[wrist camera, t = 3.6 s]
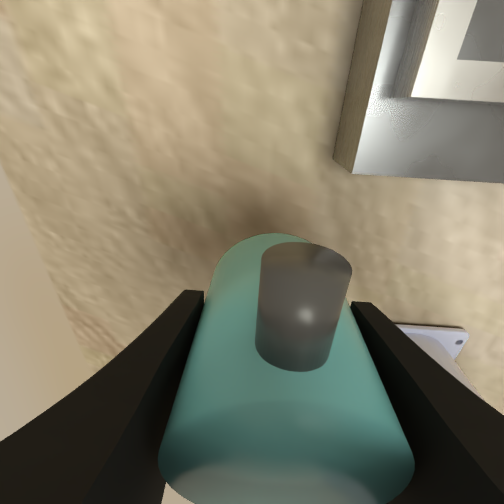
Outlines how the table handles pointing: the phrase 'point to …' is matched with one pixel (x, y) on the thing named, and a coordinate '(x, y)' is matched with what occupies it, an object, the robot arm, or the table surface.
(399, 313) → the table surface
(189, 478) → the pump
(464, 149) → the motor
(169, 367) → the robot arm
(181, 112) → the table surface
